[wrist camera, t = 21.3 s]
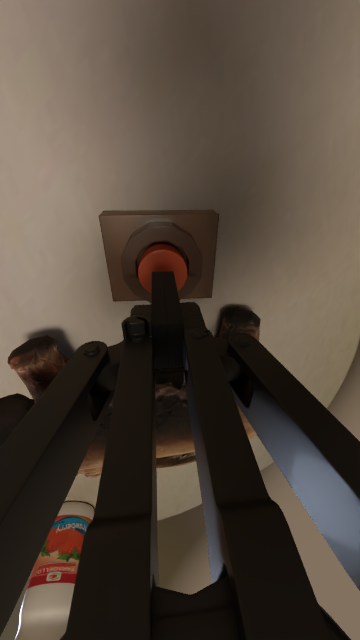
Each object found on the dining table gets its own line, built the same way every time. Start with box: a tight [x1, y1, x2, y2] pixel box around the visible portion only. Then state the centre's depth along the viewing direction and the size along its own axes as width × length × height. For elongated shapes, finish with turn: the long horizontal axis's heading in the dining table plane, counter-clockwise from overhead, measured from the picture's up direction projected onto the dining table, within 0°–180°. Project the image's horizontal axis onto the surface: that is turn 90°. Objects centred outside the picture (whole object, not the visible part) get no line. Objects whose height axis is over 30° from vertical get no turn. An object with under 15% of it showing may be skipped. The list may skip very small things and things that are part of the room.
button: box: [138, 244, 187, 294], centre depth 20 cm, size 4×4×2 cm
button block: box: [99, 210, 219, 302], centre depth 22 cm, size 10×8×4 cm
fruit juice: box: [15, 502, 94, 640], centre depth 41 cm, size 9×9×28 cm
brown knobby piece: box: [0, 308, 261, 478], centre depth 30 cm, size 13×31×25 cm
